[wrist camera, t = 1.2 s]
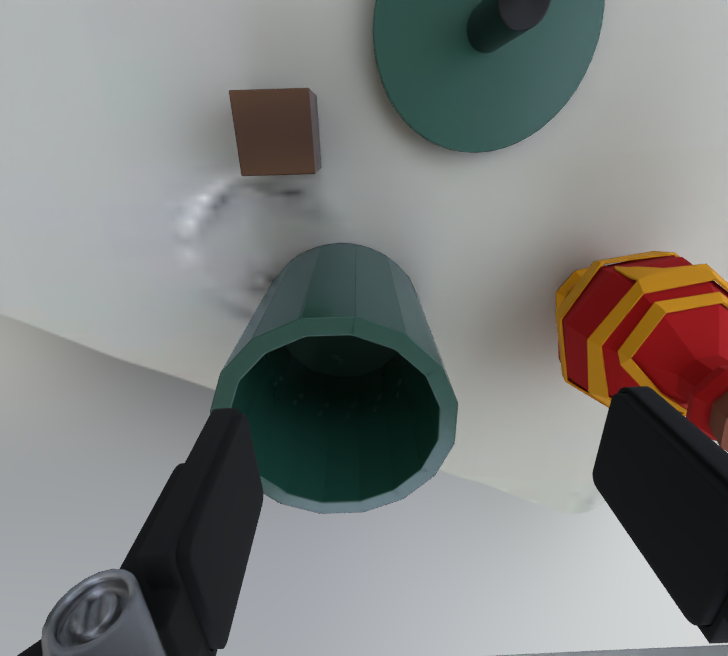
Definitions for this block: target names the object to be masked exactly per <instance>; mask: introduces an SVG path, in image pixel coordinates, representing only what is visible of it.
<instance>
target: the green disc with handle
mask: <svg viewBox="0 0 728 656" xmlns="http://www.w3.org/2000/svg"><path fill="white" fill-rule="evenodd" d="M604 2H605V0H376V2H375V9H374V17H373V42H374V53H375V59H376V64H377V69H378V72H379V75H380V79H381V82H382V85H383V87H384V89H385V91H386V94H387V96H388V98H389V100H390V101H391V103H392V105H393V107H394V108H395V110H396V111H397V113H398V114H399V115H400V116H401V118H402V119H403V120H404V121H405V122H406V123H407V124H408V125H409V126H410V127H411V128H412V129H413V130H414V131H415V132H416V133H418V134H419V135H421V136H422V137H423V138H425V139H426V140H428V141H430V142H432V143H434V144H436V145H438V146H441V147H444V148H447V149H450V150H455V151H460V152H474V153H478V152H488V151H493V150H498V149H502V148H505V147H508V146H510V145H513V144H515V143H518V142H519V141H521V140H523V139H525V138H527V137H529V136H530V135H532V134H533V133H535V132H536V131H538V130H539V129H540V128H542V127H543V126H544V125H545V124H546V123H548V122H549V121H550V120H551V119H552V118H553V117H554V116H555V115H556V114H557V113H558V112H559V111H560V110H561V109H562V108H563V106H564V105H565V104H566V103H567V101H568V100H569V99H570V97H571V96H572V95H573V93H574V92H575V90H576V89H577V87H578V85H579V84H580V82H581V80H582V79H583V77H584V75H585V73H586V71H587V69H588V66H589V64H590V62H591V60H592V57H593V54H594V51H595V49H596V46H597V43H598V39H599V35H600V30H601V26H602V20H603V13H604Z"/></svg>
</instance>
